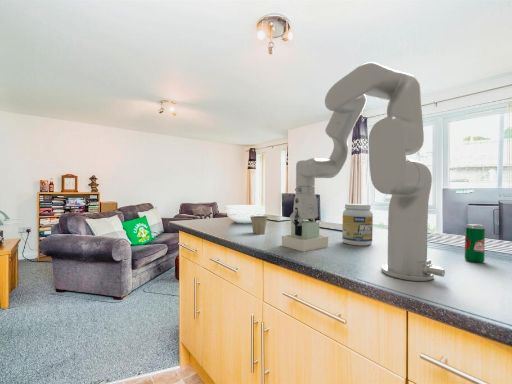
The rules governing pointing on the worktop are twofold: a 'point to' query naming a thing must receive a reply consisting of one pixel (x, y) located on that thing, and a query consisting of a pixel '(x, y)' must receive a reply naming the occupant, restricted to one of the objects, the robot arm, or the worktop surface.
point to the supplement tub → (357, 224)
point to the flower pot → (259, 224)
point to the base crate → (305, 243)
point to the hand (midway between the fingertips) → (304, 234)
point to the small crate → (306, 230)
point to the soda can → (475, 243)
